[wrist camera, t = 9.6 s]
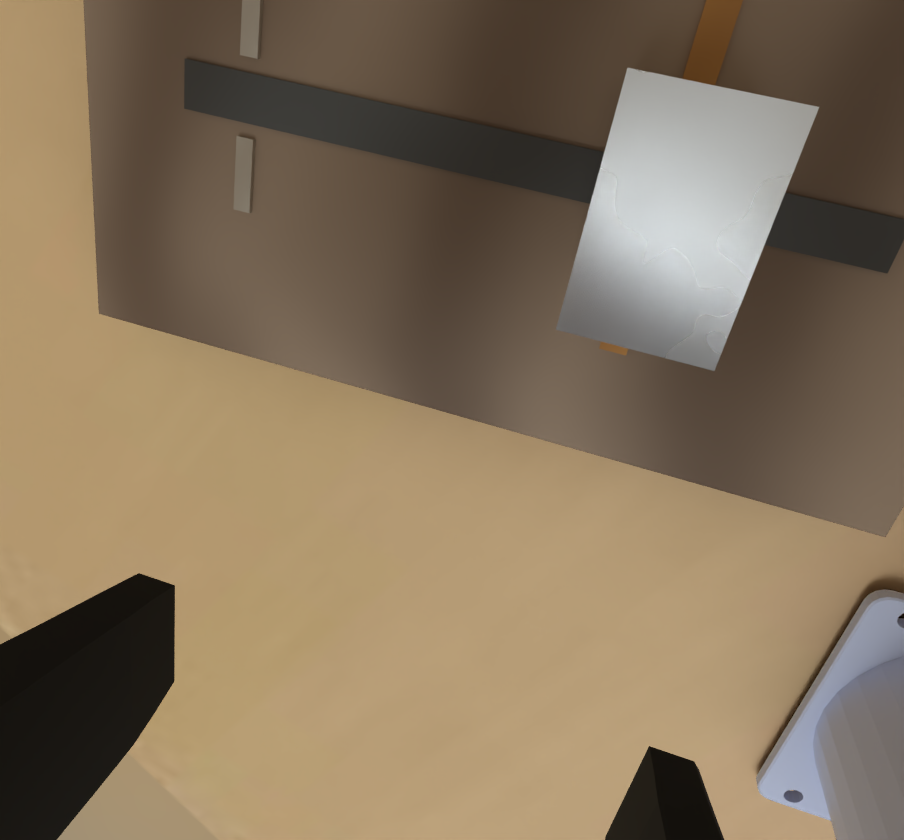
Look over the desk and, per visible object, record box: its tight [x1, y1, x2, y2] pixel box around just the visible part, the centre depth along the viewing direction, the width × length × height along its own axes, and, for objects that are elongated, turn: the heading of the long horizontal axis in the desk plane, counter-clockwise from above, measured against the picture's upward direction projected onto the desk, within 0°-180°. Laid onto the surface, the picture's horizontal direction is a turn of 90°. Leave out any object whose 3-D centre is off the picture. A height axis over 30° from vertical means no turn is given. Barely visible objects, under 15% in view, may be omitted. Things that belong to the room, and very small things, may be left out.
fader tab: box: [556, 68, 819, 371], centre depth 11 cm, size 2×4×4 cm, turn 169°
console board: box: [84, 0, 904, 537], centre depth 15 cm, size 20×12×2 cm, turn 79°
